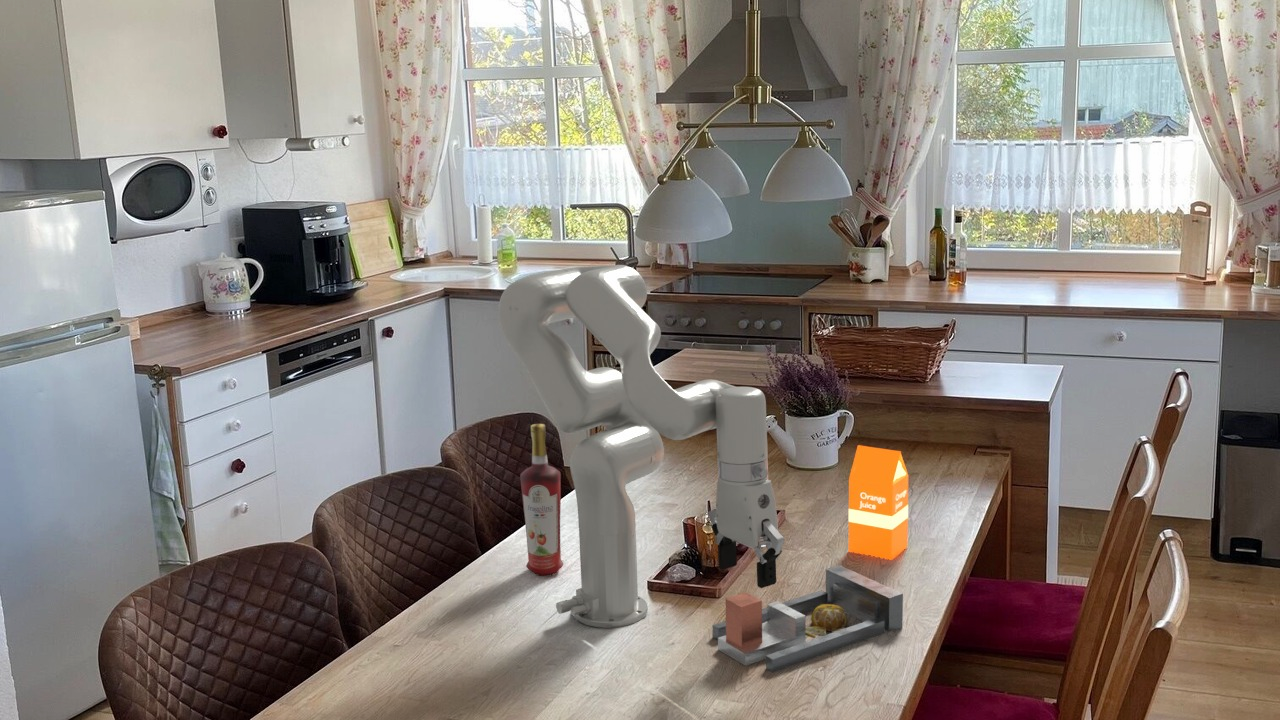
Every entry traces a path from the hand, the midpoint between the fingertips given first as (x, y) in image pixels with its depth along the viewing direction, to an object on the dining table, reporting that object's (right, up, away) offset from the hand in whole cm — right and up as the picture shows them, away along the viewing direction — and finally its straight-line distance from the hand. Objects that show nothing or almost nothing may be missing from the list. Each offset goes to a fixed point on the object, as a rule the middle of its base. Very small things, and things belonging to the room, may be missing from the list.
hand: (746, 576), depth 190 cm
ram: (+3, -12, +5) cm, 13 cm away
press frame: (+11, -11, +10) cm, 19 cm away
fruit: (+14, -11, +11) cm, 21 cm away
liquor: (-34, -6, +39) cm, 52 cm away
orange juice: (+29, -3, +45) cm, 53 cm away
